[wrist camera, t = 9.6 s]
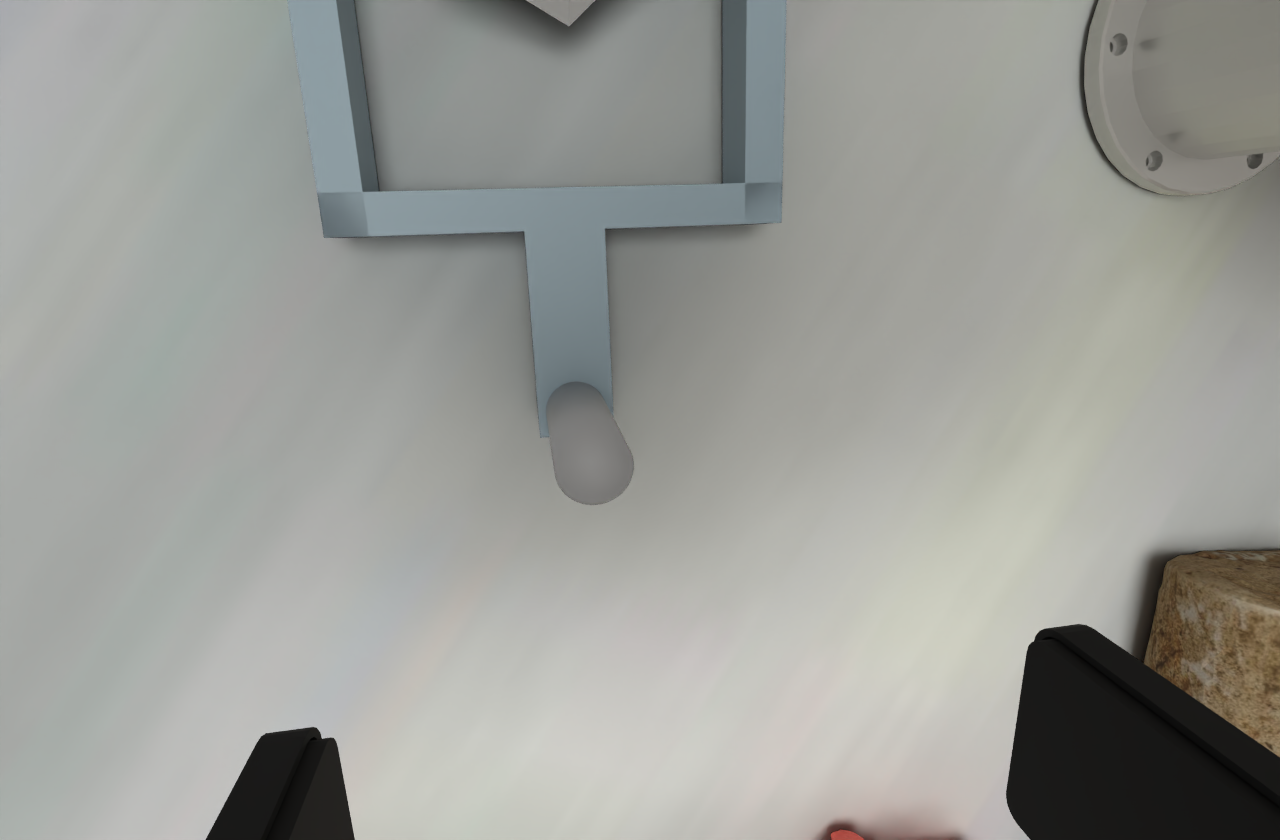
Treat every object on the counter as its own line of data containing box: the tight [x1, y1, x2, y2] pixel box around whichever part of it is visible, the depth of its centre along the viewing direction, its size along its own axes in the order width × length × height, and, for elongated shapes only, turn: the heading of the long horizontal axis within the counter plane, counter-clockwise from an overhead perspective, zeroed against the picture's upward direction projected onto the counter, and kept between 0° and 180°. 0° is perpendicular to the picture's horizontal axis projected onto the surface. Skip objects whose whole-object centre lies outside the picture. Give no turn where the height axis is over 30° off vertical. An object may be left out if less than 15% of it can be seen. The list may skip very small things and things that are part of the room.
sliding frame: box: [287, 0, 786, 505], centre depth 22 cm, size 24×17×10 cm
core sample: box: [1144, 550, 1280, 757], centre depth 38 cm, size 14×26×10 cm, turn 1°
